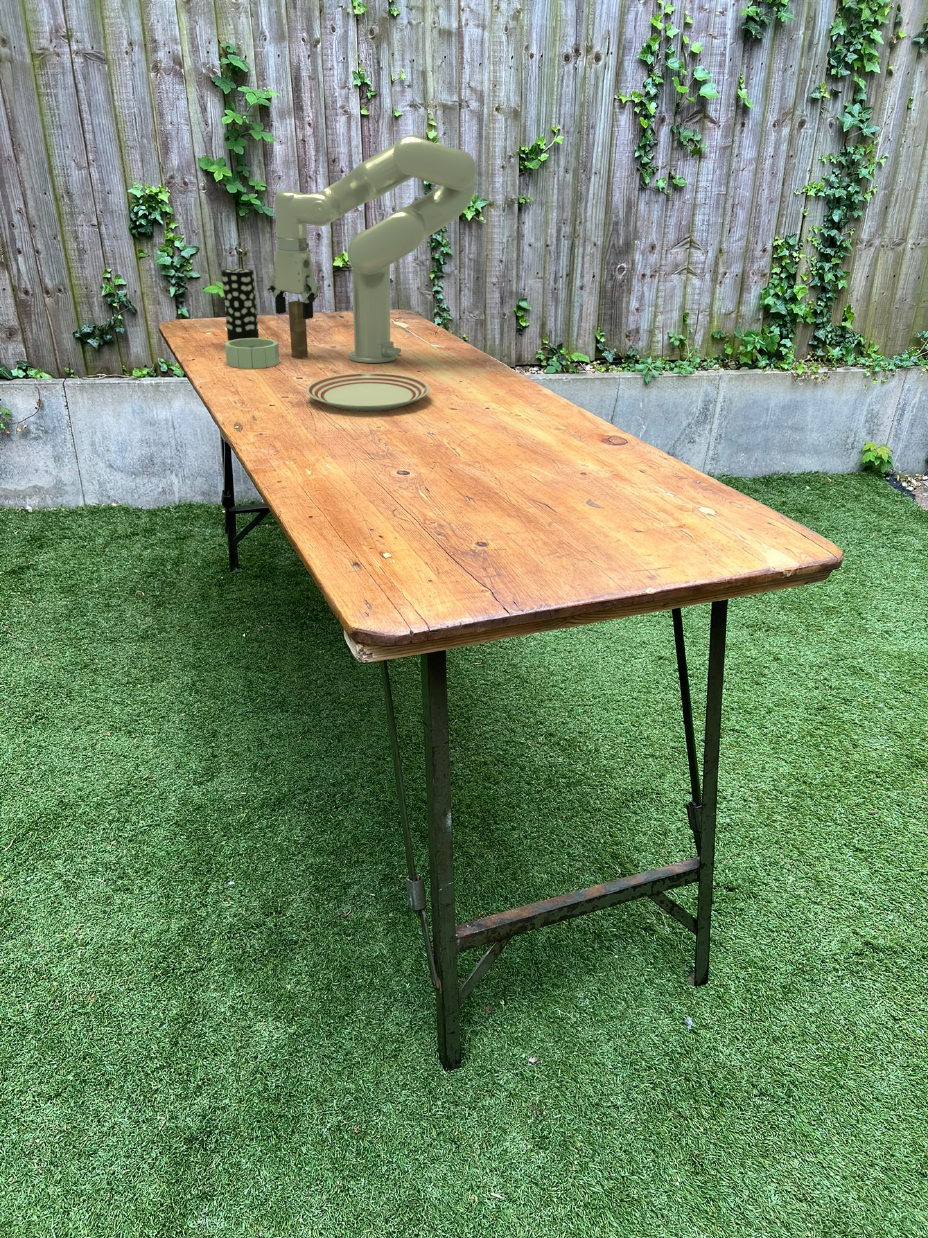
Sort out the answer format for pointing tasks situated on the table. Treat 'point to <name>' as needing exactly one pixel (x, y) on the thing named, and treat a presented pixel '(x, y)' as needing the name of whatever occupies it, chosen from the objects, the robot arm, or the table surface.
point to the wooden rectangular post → (297, 330)
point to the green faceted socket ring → (252, 353)
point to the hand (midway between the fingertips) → (294, 315)
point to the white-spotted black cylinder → (240, 303)
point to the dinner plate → (368, 391)
